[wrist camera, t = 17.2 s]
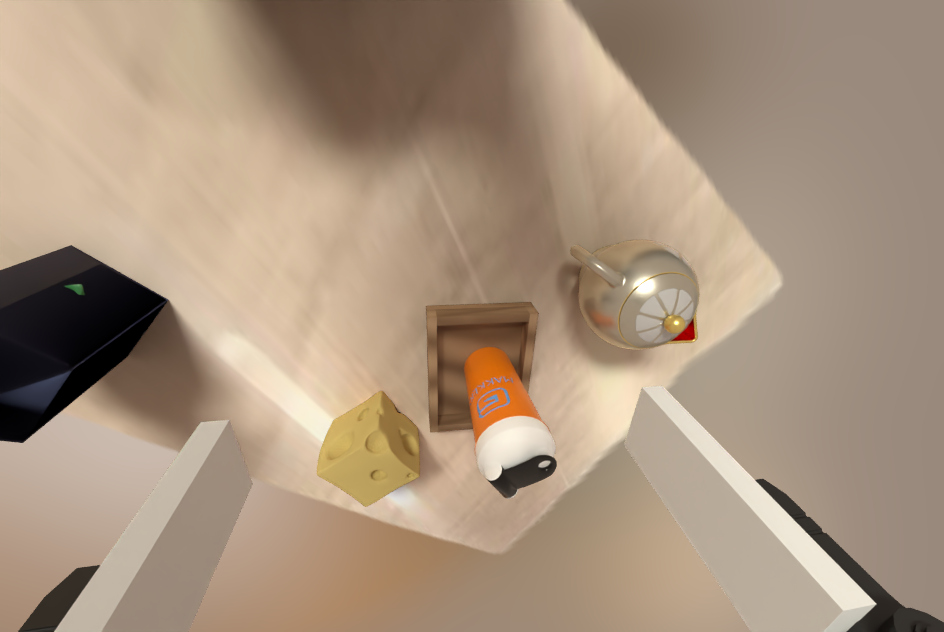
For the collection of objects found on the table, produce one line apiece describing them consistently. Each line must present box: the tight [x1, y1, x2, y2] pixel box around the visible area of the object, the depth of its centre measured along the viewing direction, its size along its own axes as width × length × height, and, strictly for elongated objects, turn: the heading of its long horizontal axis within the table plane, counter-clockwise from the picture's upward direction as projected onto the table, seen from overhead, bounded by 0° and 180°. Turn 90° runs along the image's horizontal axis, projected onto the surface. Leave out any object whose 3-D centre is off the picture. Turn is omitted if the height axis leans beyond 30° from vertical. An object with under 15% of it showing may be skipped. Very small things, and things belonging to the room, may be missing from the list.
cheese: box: [317, 391, 420, 507], centre depth 54 cm, size 10×11×10 cm
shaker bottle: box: [464, 347, 557, 499], centre depth 46 cm, size 9×9×20 cm
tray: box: [426, 302, 539, 432], centre depth 54 cm, size 20×15×4 cm
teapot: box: [570, 240, 699, 350], centre depth 45 cm, size 18×14×16 cm
